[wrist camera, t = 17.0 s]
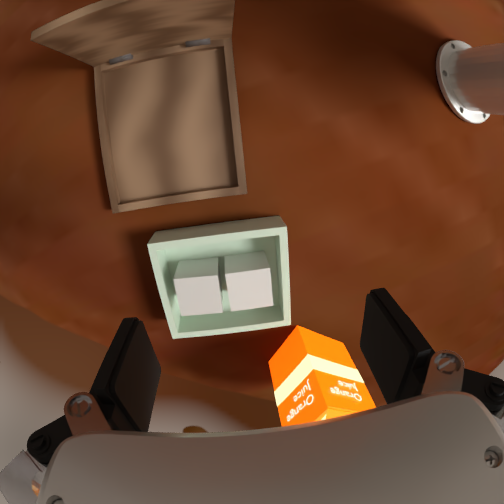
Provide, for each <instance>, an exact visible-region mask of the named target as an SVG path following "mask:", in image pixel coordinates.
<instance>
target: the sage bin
mask: <svg viewBox="0 0 504 504" xmlns="http://www.w3.org/2000/svg"><path fill="white" fill-rule="evenodd" d="M147 246H148V250H149V255H150V259H151V263H152V267H153V271H154V275H155V279H156V282H157V286H158V290H159V294H160V297H161V301H162V304H163V308H164V311H165V315H166V318H167V321H168V325H169V328H170V331H171V334H172V338H173V339H175V338H187V337H199V336H209V335H218V334H227V333H236V332H244V331H252V330H259V329H267V328H274V327H280V326H287V325H291V309H290V281H289V258H288V239H287V226H286V225H285V223H284V222H283V220H282V219H281V217H280V216H272V217H263V218H255V219H246V220H238V221H230V222H222V223H214V224H206V225H198V226H191V227H184V228H176V229H169V230H162V231H155V233H154V234H153V236H152V237H151V239H150V241H149V242H148V244H147ZM258 251H264V252H265V255H266V257H267V260H268V263H269V266H270V272H271V283H272V295H273V306H268V307H261V308H254V309H247V310H240V311H232V312H231V307H230V302H229V296H228V290H227V284H226V278H225V258H224V256H229V255H236V254H243V253H251V252H258ZM213 257H218V260H219V268H220V275H221V283H222V291H223V313H214V314H203V315H190V316H181V312H180V308H179V303H178V299H177V294H176V290H175V285H174V280H173V279H174V275H175V272H176V269H177V266H178V263H179V261H182V260H193V259H203V258H213Z"/></svg>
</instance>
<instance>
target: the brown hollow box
mask: <svg viewBox="0 0 504 504" xmlns="http://www.w3.org/2000/svg"><path fill="white" fill-rule="evenodd" d="M234 7H235V0H101V1H99V2H96V3H93V4H91V5H88V6H85V7H83V8H80V9H78V10H76V11H73V12H71V13H69V14H66V15H64V16H62V17H60V18H58V19H56V20H54V21H52V22H49V23H47V24H46V25H44V26H42V27H40V28H38V29H36V30H34V31H32V33H31V41H33V42H36V43H38V44H41V45H44V46H46V47H49V48H51V49H54V50H56V51H59V52H61V53H63V54H66V55H68V56H71V57H73V58H75V59H77V60H80V61H82V62H84V63H86V64H89V65H91V66H93V67H94V79H95V96H96V108H97V118H98V128H99V136H100V144H101V151H102V158H103V164H104V170H105V176H106V182H107V187H108V193H109V198H110V203H111V207H112V212H113V213H119V212H124V211H130V210H135V209H141V208H147V207H153V206H160V205H166V204H172V203H179V202H186V201H193V200H200V199H207V198H215V197H223V196H231V195H239V194H247V186H246V176H245V167H244V157H243V147H242V137H241V127H240V118H239V108H238V98H237V88H236V79H235V69H234V59H233V50H232V40H231V37H232V26H233V16H234Z"/></svg>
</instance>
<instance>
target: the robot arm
mask: <svg viewBox="0 0 504 504" xmlns="http://www.w3.org/2000/svg"><path fill="white" fill-rule="evenodd" d="M436 72H437V78H438V82H439V86H440V88H441V91H442V94H443V96H444V98H445V100H446V102H447V103H448V105H449V107H450V108H451V109H452V110H453V112H454V113H455V114H456V115H457V116H458V117H459V118H461V119H462V120H464V121H466V122H469V123H475V124H477V123H482V122H484V121H485V120H486V119H487V118H488V117H489V116H490V114H497V115H504V43H500V44H492V45H485V46H479V47H473V48H472V47H471V46H469V45H468V44H466V43H464V42H462V41H458V40H453V41H449V42H446V43H444V44H443V45H442V46H441V47H440V49H439V51H438V53H437V58H436ZM360 347H361V350H362V352H363V354H364V356H365V358H366V360H367V362H368V365H369V367H370V369H371V371H372V373H373V375H374V377H375V379H376V381H377V383H378V385H379V387H380V389H381V392H382V394H383V396H384V398H385V400H386V402H387V405H383V406H380V407H376V408H372V409H368V410H364V411H360V412H356V413H352V414H348V415H344V416H339V417H334V418H330V419H325V420H319V421H314V422H308V423H302V424H296V425H289V426H282V427H275V428H267V429H257V430H246V431H233V432H214V433H213V432H212V433H158V432H148V428H149V424H150V418H151V414H152V409H153V405H154V400H155V396H156V392H157V387H158V383H159V379H160V374H161V367H160V364H159V362H158V359H157V357H156V354H155V352H154V350H153V347H152V345H151V342H150V340H149V337H148V335H147V332H146V329H145V327H144V324H143V322H142V321H139V319H138V318H136V317H134V318H124V319H123V320H122V322H121V324H120V326H119V328H118V331H117V333H116V335H115V337H114V339H113V341H112V343H111V345H110V347H109V350H108V351H107V353H106V355H105V358H104V360H103V362H102V364H101V367H100V369H99V371H98V373H97V376H96V378H95V380H94V383H93V385H92V388H91V390H90V392H89V393H87V392H79V393H76V394H74V395H73V396H71V397H70V398H69V399H68V400H67V401H66V403H65V406H64V413H65V415H64V416H62V417H60V418H58V419H57V420H55V421H53V422H52V423H50V424H48V425H46V426H44V427H42V428H41V429H39V430H37V431H35V432H34V433H33V434H31V436H30V437H29V439H28V441H27V451H26V452H25V451H24V450H22V451H21V452H20V453H19V454H18V455H17V456H16V457H15V458H14V459H13V460H12V461H11V462H10V463H9V464H8V465H7V466H6V467H5V468H4V469H3V470H2V471H1V472H0V491H1V492H2V494H3V496H4V497H5V499H6V500H7V502H8V503H9V504H504V381H503V380H502V379H499V378H497V377H493V376H489V375H486V374H482V373H479V372H475V371H472V370H468V369H465V368H464V362H463V359H462V358H461V357H460V356H459V355H458V354H457V353H455V352H452V351H449V350H442V351H438V352H436V353H435V352H434V350H433V349H432V347H431V346H430V345H429V343H428V342H427V341H426V339H425V338H424V337H423V335H422V334H421V333H420V331H419V330H418V329H417V327H416V326H415V325H414V323H413V322H412V321H411V319H410V318H409V317H408V316H407V315H406V314H405V313H404V312H403V310H402V309H401V308H400V306H399V305H398V304H397V303H396V301H395V300H394V299H393V298H392V296H391V295H390V294H389V293H388V291H387V290H386V289H385V288H379V289H374V290H371V291H370V294H367V296H366V304H365V312H364V319H363V326H362V333H361V339H360Z"/></svg>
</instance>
